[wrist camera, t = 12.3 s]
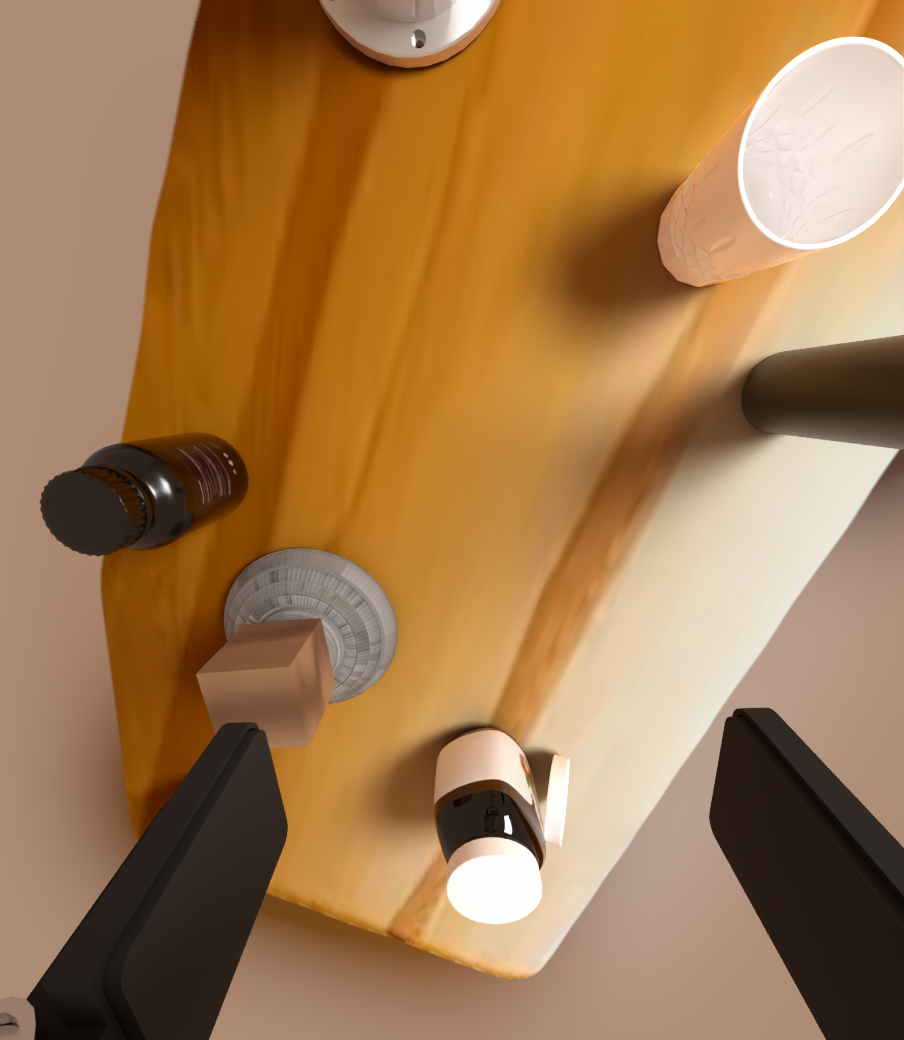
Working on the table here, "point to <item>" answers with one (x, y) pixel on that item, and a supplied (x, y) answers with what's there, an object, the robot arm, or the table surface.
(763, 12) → the table surface
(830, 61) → the white cup
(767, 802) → the robot arm
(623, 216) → the table surface
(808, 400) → the wine bottle
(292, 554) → the flying saucer
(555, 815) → the spread jar
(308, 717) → the walnut block
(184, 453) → the supplement bottle
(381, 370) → the table surface
